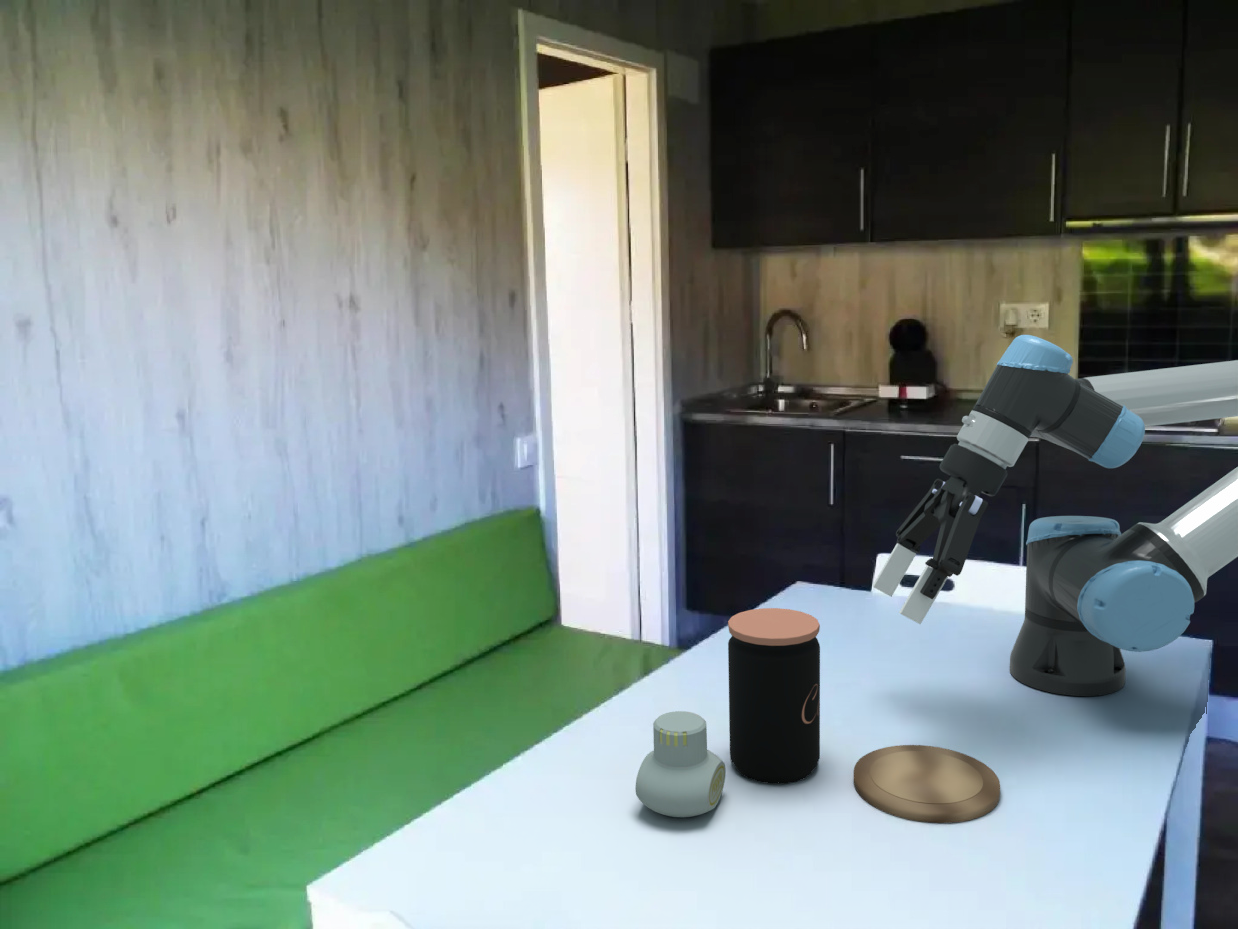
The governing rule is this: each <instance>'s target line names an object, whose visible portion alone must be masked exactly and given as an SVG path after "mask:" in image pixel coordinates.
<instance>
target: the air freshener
mask: <svg viewBox="0 0 1238 929" xmlns="http://www.w3.org/2000/svg"><path fill="white" fill-rule="evenodd" d="M652 726H653V728H652V729H653V750H652V751H650V752H649V753H647V754H646V755H645V757H644V758H643V760H642V762H641V764H640V766H639V768H638V771H637V775H636V780H635V795H636V797H637V799H638V800H639V801H640V802H641V803H642V804H643V805H645V807H647V808H648V809H650V810H652V811H653V812H655V813H658V814H661V815H664V816H667V817H671V818H672V817H673V818H690V817H696V816H697V817H698V816H700V815H704V814H705V813H708V812H710V811H713V809H715V808H716V806H717V805H718V803H719V802H720V799H721V797H722V793H723V790H724V787H725V782H726V764H725V762H724V761H723V760H722V758H720V757H719V756H718V755H717V754H715V753H714V752H712V751H711V750H709V749H708V737H707V736H708V735H707V734H708V733H707V730H708V729H707V721H706V720H705V719H704V718H703V717H702V716H701V715H700V714H697V713H695V712H691V711H684V710H681V711H680V710H678V711H669V712H666V713H662V714H661V715H659V716H658V717H657V718H655V720H654V721H653V724H652Z"/></svg>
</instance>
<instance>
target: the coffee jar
mask: <svg viewBox="0 0 1238 929" xmlns="http://www.w3.org/2000/svg"><path fill="white" fill-rule="evenodd" d="M727 626H728V633H729V634H730V635H731V636H730V638H729V639H728V642H727V646H728V648H727V651H728V653H727V654H728V662H727V663H728V714H729V715H728V716H729V720H728V722H729V727H728V728H729V757H730V761H731V763H732V764H733V765H734V767H735V769H736V770H737V771H738V772H739V774H741V776H744V777H746V778H747V779H749V780H752V781H755V782H758V783H763V784H771V785H785V784H791V783H797V782H800V781H802V780H805V779H807V778H808V777H809V776H810V775H811V774H812V773H813V771H814V770H815V769H816V768H817V766H818V763H819V761H820V759H821V758H820V756H821V755H820V754H821V753H820V752H821V743H820V742H821V738H820V737H821V734H820V733H821V731H820V730H821V729H820V728H821V720H820V719H821V712H820V711H821V699H820V698H821V645H820V642H819V640H818V638H817V636H818V634H819V632H820V627H821V625H820V622H819V619H817V618H816V617H814V616H813V615H811V614H809V613H806V612H803V611H801V610H800V611H799V610H794V609H789V608H780V607H779V608H778V607H776V608H775V607H769V608H767V607H764V608H754V609H748V610H744V611H741V612H738V613H736V614H734V615H732V616H731V617H730V618H729V620H728V621H727Z"/></svg>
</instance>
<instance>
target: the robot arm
mask: <svg viewBox="0 0 1238 929" xmlns="http://www.w3.org/2000/svg"><path fill="white" fill-rule="evenodd" d="M1073 363H1074V360H1073V357H1072V355H1071V354H1070V353H1069V352H1067V351H1065V350H1064V349H1063V348H1061V347H1060V346H1058V345H1056V344H1055V343H1052V342H1050V341H1048V340H1047V339H1043V338H1041V337H1038V336H1036V335H1035V336H1034V335H1031V334H1021V335H1018V336H1016V337H1015V338H1014V339H1013V340H1012V341H1011V343H1010V344H1009V346H1008V347H1007V348H1006V349H1005V352H1004V353H1003V354H1002V356H1001V358H1000V359H999V360H998V362H997V363H996V366H995V368H994V370H993V372H992V373H991V375H990V377H989V379H988V380H987V382H986V384H985V386H984V388H983V389H982V392H981V393H980V395H979V397H978V399H977V401H976V402H975V404H974V405H973V407H972V409H971V411H970V413H969V415H964V416H962V419H961V422H962V423H963V425H962V427H961V428H960V430H959V432H958V434H957V435H956V439H957V441H958V444H957V443H953V444H951V445H950V446H949V448H948V449H947V451H946V453H945V455H944V457H943V458H942V460H941V462H940V464H939V469H940V471H941V472H943V473H944V474H946V475H948V479H947V480H946V481H943V480H942V479H940V478H937V479H935V480H934V482H933V484H932V485H931V487H930V489H929V490H928V492H927V493H926V494H925V495H924V497H923V498H922V499H921V501H920V502H919V503H917V505H916V506H915V508H914V509H913V510H912V512H911V513H910V514H909V515H908V517H906V519H905V520H904V521H903V522H902V524H901V525H900V526H899V528H898V529H897V530H896V532H895V536H896V537H897V539H896V544H895V546H894V548H893V550H891V553H890V555H889V556H888V558H887V560H886V561H885V563H884V564H883V566H882V568H881V570H880V572H879V574H878V575H877V577H876V579H875V580H874V582H873V584H872V587H873V588H874V589H876V590H878V591H880V592H882V593H883V594H886V595H887V596H889V597H891V598H892V597H893V595H894V593H895V592H896V590H897V588H898V586H899V585H900V583H901V581H902V579H903V578H904V576H905V574H906V572H907V571H908V569H909V567H910V565H911V564H912V562H913V561H914V558H916V555H919V554H921V553H920V552H921V545H922V544H923V543H924V542H925V541H926V540H928V538H929V537H930V536H931V535H932V534H934V532H936V531H937V529H939V532H938V536H937V540H936V544H935V547H934V551H933V556H932V557H931V558H929V559H928V560H926V561H925V563H924V565H925V567H924V569H923V570H922V572H921V573H920V575H919V578H917V580H916V582H915V584H914V586H913V587H912V589H911V591H910V593H909V594H908V596H907V598H906V600H905V602H904V603H903V604H902V607H901V608H900V610H899V612H898V613H899V614H900V615H902V616H904V617H906V618H907V619H909V620H911V621H913V622H915V623H917V624H919V625H921V624H922V623H923V621H924V619H925V618H926V616H927V614H928V613H929V611H930V609H931V607H932V605H933V604H934V602H936V601H935V600H936V599H937V597H938V595H939V593H940V592H941V590H942V588H943V587H944V585H945V583H946V582H947V580H948V578H951V577H952V576H953V575H955V576H957V577H959V575H961V574H962V571H963V568H964V566H965V563H966V560H967V557H968V554H969V552H970V548H971V546H972V543H973V540H974V538H975V535H976V532H977V530H978V527H979V524H980V522H981V519H982V516H983V515H984V513H985V511H986V509H987V508H988V506H989V502H988V501H987V500H985V499H983V498H981V497H980V495H981V494H984V495H987V496H988V497H995V496H996V495H997V493H998V492H999V490H1000V489H1001V487H1002V484H1003V483H1004V482H1005V480H1006V478H1007V476H1008V475H1009V474H1008V470H1006V469H1007V467H1009V468H1011V467H1014V466H1015V464H1016V462H1017V460H1018V459H1019V457H1020V455H1021V453H1022V452H1023V451H1024V449H1025V446H1026V445H1027V443H1028V442H1029V439H1030V437H1031V436H1033V437H1037V438H1039V439H1042V440H1046V441H1047V442H1050V443H1053V444H1056V445H1057V446H1060V447H1063V448H1064V449H1068V450H1070V451H1072V452H1075V453H1077V454H1078V455H1080V456H1082V457H1084V458H1086V459H1087V461H1088V462H1092V463H1094V464H1097V465H1099V466H1101V467H1103V468H1106V469H1116V468H1119V467H1121V466H1122V465H1124V464H1126V463H1127V462H1129V461H1130V459H1132V457H1133V456H1135V454H1136V453H1137V451H1138V450H1139V448H1140V447H1141V444H1142V442H1143V441H1144V438H1145V433H1146V427H1152V426H1153V427H1154V426H1162V425H1172V424H1180V423H1190V422H1197V421H1208V420H1216V419H1223V418H1224V419H1225V418H1226V419H1227V418H1234V417H1238V359H1235V360H1230V361H1229V360H1226V361H1219V362H1210V363H1209V362H1208V363H1202V364H1201V363H1200V364H1193V365H1185V366H1184V365H1183V366H1177V367H1167V368H1158V369H1150V370H1149V369H1148V370H1139V371H1132V372H1131V371H1130V372H1124V373H1123V372H1122V373H1113V374H1106V375H1104V374H1103V375H1097V376H1087V377H1081V378H1074V377H1073V376H1072V375H1070V372H1071V368H1072V365H1073ZM1120 529H1121V528H1120V523H1119V522H1118V521H1117V520H1115V519H1114V518H1113V519H1112V518H1109V517H1103V516H1089V515H1087V516H1085V515H1056V516H1054V515H1053V516H1046V517H1040V518H1039V517H1038V518H1037V519H1034V520H1033V521H1032V522H1031V523H1030V524H1029V527H1028V533H1027V540H1026V542H1025V545H1026V567H1025V568H1026V569H1025V570H1026V571H1025V573H1026V574H1025V600H1024V601H1025V602H1024V604H1025V605H1024V619H1023V623H1022V625H1021V628H1020V629H1019V633H1018V635H1017V637H1016V640H1015V643H1014V645H1013V647H1012V650H1011V651H1010V657H1009V672H1010V675H1012V677H1013V678H1014V679H1016V680H1017V681H1018V682H1020V683H1021V684H1024V685H1026V686H1028V687H1030V688H1032V689H1033V688H1034V689H1036V690H1039V691H1040V690H1041V691H1044V692H1047V693H1052V694H1058V695H1064V696H1071V697H1072V696H1073V697H1074V696H1075V697H1094V696H1103V695H1109V694H1112V693H1116V692H1118V691H1119V690H1122V689H1123V687H1124V686H1125V685H1126V671H1127V670H1126V663H1125V660H1124V657H1123V653H1122V650H1123V651H1128V652H1135V653H1137V652H1138V653H1142V652H1150V651H1154V650H1155V651H1156V650H1158V649H1161V648H1164V647H1166V646H1168V645H1170V644H1171V643H1173V642H1174V641H1176V640H1177V639H1178V638H1180V636H1181V635H1182V634H1184V632H1185V631H1186V630H1187V628H1188V626H1189V625H1190V623H1191V620H1190V618H1191V615H1193V614H1194V611H1195V603H1197V602H1199V601H1200V600H1201V599H1203V598H1204V597H1205V596H1206V595H1207V588H1208V586H1207V585H1208V579H1209V577H1211V576H1212V575H1214V574H1215V573H1216V572H1219V570H1221V569H1222V568H1224V567H1225V566H1227V565H1228V564H1229V563H1231V562H1232V561H1234V560H1235V559H1237V558H1238V466H1237V467H1236V468H1234V469H1232V470H1231V471H1229V472H1228V473H1226V475H1224V476H1223V477H1222V478H1220V479H1219V480H1216V481H1215V483H1213V484H1211V485H1210V486H1208V487H1207V488H1206V489H1204V490H1203V491H1202V492H1200V493H1199V494H1198V495H1196V496H1195V497H1193V498H1192V499H1191V500H1189V501H1188V502H1186V503H1185V504H1184V505H1182V506H1181V507H1179V508H1178V509H1177V510H1175V511H1174V512H1173V513H1171V514H1170V515H1169V516H1167V517H1166V518H1165V519H1163V520H1161V521H1160V522H1158V523H1157V522H1156V523H1151V522H1141V521H1140V522H1138V523H1136V524H1134V525H1132V526H1131V527H1130V528H1129V529H1127V530H1126V531H1124V532H1123V533H1122V532H1121V530H1120Z"/></svg>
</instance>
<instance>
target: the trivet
mask: <svg viewBox="0 0 1238 929" xmlns="http://www.w3.org/2000/svg"><path fill="white" fill-rule="evenodd" d="M853 786H854V788H855V791H856V793H857V794H858V796H860V797H861V798H862V799H863V801H865V802H867V803H868V804H869V805H871V806H872V807H874V808H876V809H878V810H879V811H881V812H884V813H886V814H889V815H892V816H895V817H898V818H901V819H905V820H910V821H915V822H921V823H932V824H953V823H963V822H967V821H972V820H975V819H978V818H981V817H984V816H985V815H987V814H989V813H990V812H992V811H993V810H994V809H995V808H996V807H997V806H998V804H999V801H1000V798H1001V783H1000V779H999V777H998V775H997V774H996V773H995V772H994V770H992V768H990V767H989V766H988V765H987V764H985V763H984V762H982V761H981V760H979V759H977V758H975V757H973V756H971V755H967V754H965V753H962V752H960V751H956V750H952V749H948V748H944V747H940V746H939V747H938V746H931V745H922V744H903V745H902V744H900V745H893V746H892V745H891V746H886V747H882V748H878V749H875V750H872V751H871V752H868V753H866V754H864V755H863V756H861V757H860V758H859V759H858V760H857V762H856V763H855V765H854V767H853Z"/></svg>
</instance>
